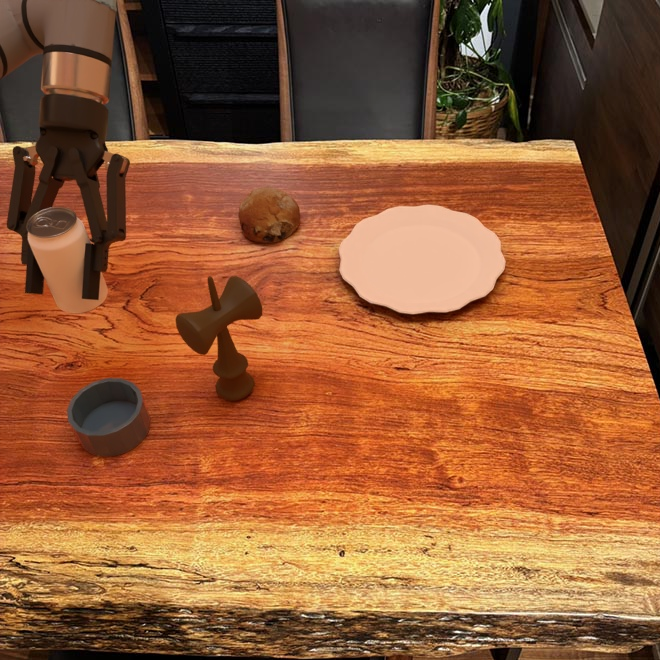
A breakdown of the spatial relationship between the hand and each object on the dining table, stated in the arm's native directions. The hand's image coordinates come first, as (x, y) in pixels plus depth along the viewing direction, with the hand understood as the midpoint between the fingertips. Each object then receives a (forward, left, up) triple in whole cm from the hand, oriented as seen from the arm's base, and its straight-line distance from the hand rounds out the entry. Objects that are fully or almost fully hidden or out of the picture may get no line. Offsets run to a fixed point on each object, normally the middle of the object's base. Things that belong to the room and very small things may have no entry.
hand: (62, 296), depth 96 cm
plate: (+30, +40, -17) cm, 53 cm away
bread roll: (+4, +39, -17) cm, 43 cm away
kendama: (+17, +7, -17) cm, 25 cm away
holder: (+6, -5, -17) cm, 18 cm away
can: (-1, +3, -4) cm, 5 cm away
